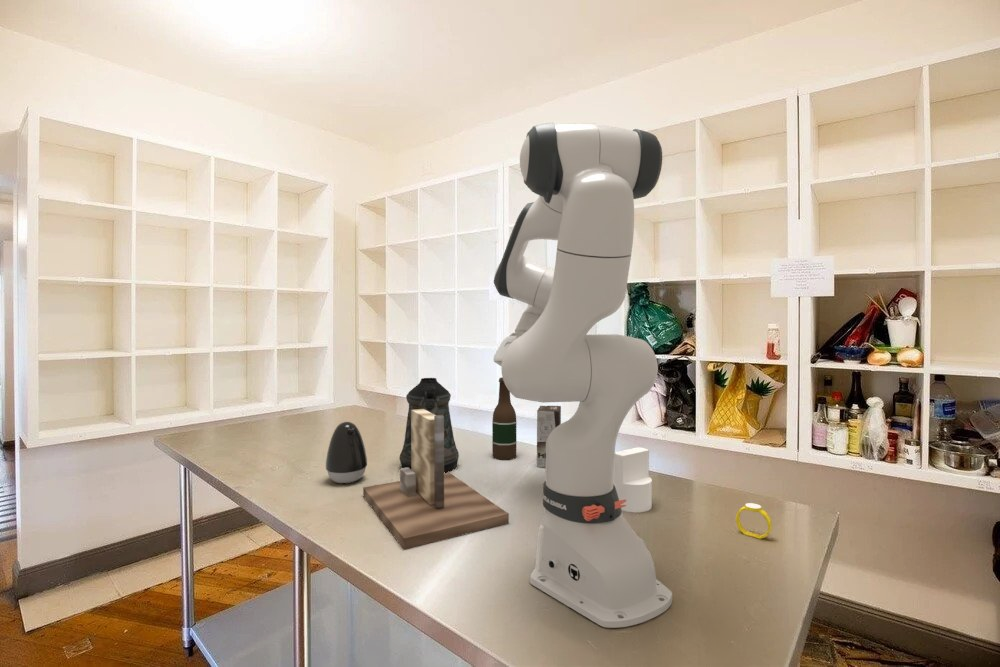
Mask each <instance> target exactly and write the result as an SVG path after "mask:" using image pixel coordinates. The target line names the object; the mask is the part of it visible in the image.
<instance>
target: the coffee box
mask: <svg viewBox="0 0 1000 667" xmlns="http://www.w3.org/2000/svg"><path fill="white" fill-rule="evenodd" d="M536 412H537V413H536V467H537V468H546V441H547V439H548V436H549V435H550V433H551V432H552V431H553V430H554V429H555V428H556V427H557V426H559V425H560V424H562V417H561V416H562V406H561V405H540V406H539V407H538V409H537V410H536Z"/></svg>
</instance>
